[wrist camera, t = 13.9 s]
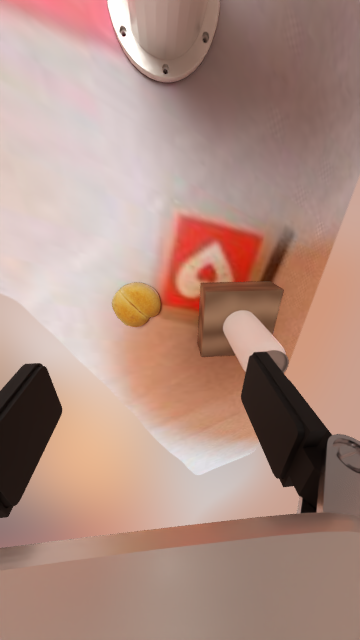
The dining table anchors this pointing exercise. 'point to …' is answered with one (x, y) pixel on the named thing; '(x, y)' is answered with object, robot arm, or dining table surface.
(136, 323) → the bread roll
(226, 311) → the block
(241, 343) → the can
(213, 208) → the dining table surface
